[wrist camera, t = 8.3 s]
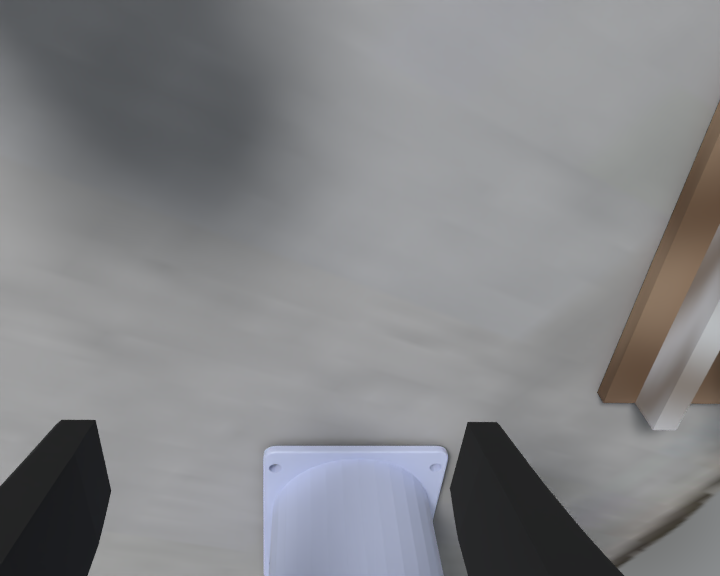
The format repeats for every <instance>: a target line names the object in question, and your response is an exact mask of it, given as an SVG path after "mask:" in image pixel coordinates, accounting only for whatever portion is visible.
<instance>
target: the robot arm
mask: <svg viewBox="0 0 720 576" xmlns="http://www.w3.org/2000/svg"><path fill="white" fill-rule="evenodd" d="M447 462H448V454H447V450H446V449H445V448H444V447H442V446H271V447H269V448H267V449H266V450H265V451H264V457H263V510H264V576H444V574H443V569H442V564H441V560H440V555H439V550H438V545H437V540H436V535H435V531H434V526H433V517H434V514H435V510H436V506H437V502H438V498H439V494H440V490H441V486H442V482H443V478H444V474H445V470H446V466H447ZM273 464H277V465H273ZM450 491H451V498H452V504H453V511H454V517H455V523H456V529H457V535H458V540H459V544H460V547H461V551H462V555H463V558H464V562H465V566H466V569H467V573H468V576H624V575H623V574H622V573H621V572H620V571H619V570H618V569H617V568H616V567H615V565H614V564H613V563H612V562H611V561H610V560H609V559H608V558H607V557H606V556H605V555H604V554H603V552H602V551H601V550H600V549H599V548H598V547H597V546H596V545H595V544H594V543H593V541H592V540H591V539H590V538H589V537H588V536H587V535H586V534H585V532H584V531H583V530H582V529H581V528H580V527H579V525H578V524H577V523H576V522H575V521H574V520H573V518H572V517H571V516H570V515H569V514H568V512H567V511H566V510H565V509H564V507H563V506H562V505H561V504H560V503H559V501H558V500H557V499H556V498H555V497H554V495H553V494H552V493H551V492H550V490H549V489H548V488H547V487H546V485H545V484H544V483H543V482H542V480H541V479H540V478H539V476H538V475H537V474H536V473H535V471H534V470H533V469H532V467H531V466H530V465H529V463H528V462H527V461H526V460H525V458H524V457H523V456H522V454H521V453H520V452H519V450H518V449H517V448H516V446H515V445H514V444H513V442H512V441H511V440H510V438H509V437H508V436H507V434H506V433H505V432H504V430H503V429H502V428H501V426H500V425H499V424H498V423H497V422H468V423H467V427H466V430H465V434H464V438H463V442H462V445H461V449H460V453H459V457H458V460H457V464H456V468H455V472H454V475H453V479H452V483H451V487H450ZM110 494H111V488H110V483H109V479H108V474H107V470H106V465H105V461H104V456H103V452H102V447H101V443H100V438H99V434H98V429H97V425H96V420H61V421H60V422H58V423H57V424H56V425H55V426H54V427H53V429H52V430H51V431H50V432H49V433H48V434H47V435H46V436H45V437H44V439H43V440H42V441H41V442H40V443H39V444H38V445H37V446H36V448H35V449H34V450H33V451H32V452H31V453H30V454H29V455H28V456H27V458H26V459H25V460H24V461H23V462H22V463H21V464H20V465H19V466H18V467H17V469H16V470H15V471H14V472H13V473H12V474H11V475H10V476H9V477H8V478H7V479H6V481H5V482H4V483H3V484H2V485H1V486H0V576H87V575H88V573H89V570H90V567H91V564H92V561H93V559H94V556H95V553H96V550H97V547H98V544H99V540H100V536H101V532H102V528H103V524H104V520H105V516H106V511H107V507H108V502H109V498H110Z"/></svg>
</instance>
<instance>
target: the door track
mask: <svg viewBox="0 0 720 576" xmlns="http://www.w3.org/2000/svg"><path fill="white" fill-rule="evenodd" d="M597 393H598V394H599V396H600V398H601V399H602V401H603V403H635V404H636V405H637V407H638V408H639V410H640V411H641V413H642V414H643V416H644V417H645V419H646V420H647V422H648V423H649V425H650V426H651V428H652V429H653V430H677V428H678V426H679V424H680V422H681V421H682V419H683V417H684V415H685V413H686V411H687V410H688V408H689V406H690V404H720V102H719V104H718V106H717V109H716V111H715V114H714V116H713V118H712V121H711V123H710V125H709V128H708V130H707V133H706V135H705V137H704V140H703V142H702V145H701V147H700V149H699V152H698V154H697V156H696V159H695V161H694V164H693V166H692V168H691V171H690V173H689V176H688V178H687V180H686V183H685V185H684V187H683V190H682V192H681V195H680V197H679V199H678V202H677V204H676V207H675V209H674V211H673V214H672V216H671V218H670V221H669V223H668V226H667V228H666V230H665V233H664V235H663V238H662V240H661V242H660V245H659V247H658V249H657V252H656V254H655V257H654V259H653V261H652V264H651V266H650V268H649V271H648V273H647V276H646V278H645V280H644V283H643V285H642V288H641V290H640V292H639V295H638V297H637V299H636V302H635V304H634V307H633V309H632V311H631V314H630V316H629V319H628V321H627V323H626V326H625V328H624V330H623V333H622V335H621V338H620V340H619V342H618V345H617V347H616V350H615V352H614V354H613V357H612V359H611V361H610V364H609V366H608V369H607V371H606V373H605V376H604V378H603V381H602V383H601V385H600V388H599V390H598V392H597Z"/></svg>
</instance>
